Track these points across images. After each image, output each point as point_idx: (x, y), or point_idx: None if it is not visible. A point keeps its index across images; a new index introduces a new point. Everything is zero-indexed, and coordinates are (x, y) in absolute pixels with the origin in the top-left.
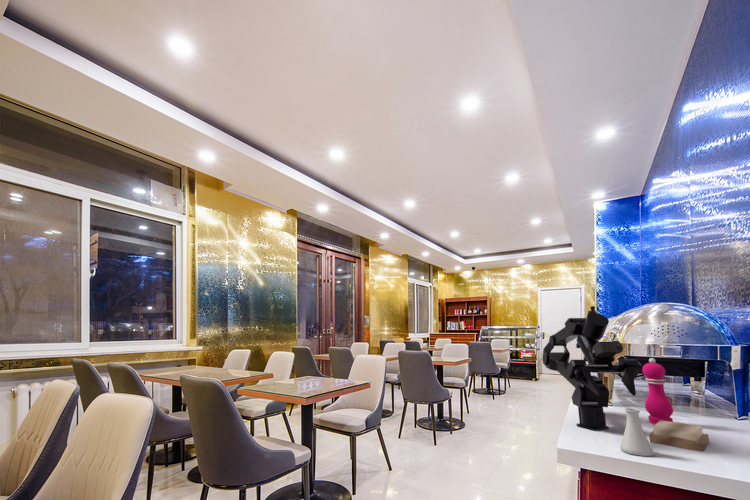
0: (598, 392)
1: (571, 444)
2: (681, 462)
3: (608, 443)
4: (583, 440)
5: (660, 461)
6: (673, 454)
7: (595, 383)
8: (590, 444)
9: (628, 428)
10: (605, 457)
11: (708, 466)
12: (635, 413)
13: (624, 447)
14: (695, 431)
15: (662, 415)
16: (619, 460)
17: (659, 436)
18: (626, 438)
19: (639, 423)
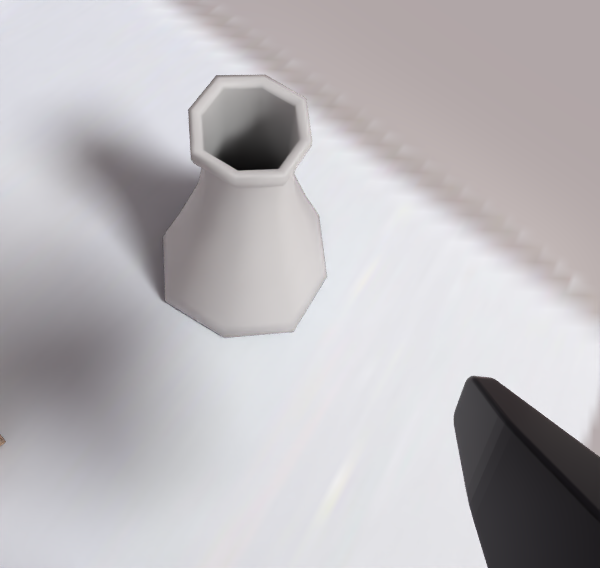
0: (495, 383)
1: (548, 411)
2: (139, 107)
3: (311, 425)
4: (440, 498)
5: None
6: (71, 210)
7: (572, 484)
8: (435, 408)
9: (297, 197)
10: (460, 195)
11: (58, 54)
12: (255, 97)
13: (320, 249)
14: None
15: None
16: (416, 154)
17: None
18: (310, 226)
19: (230, 144)
